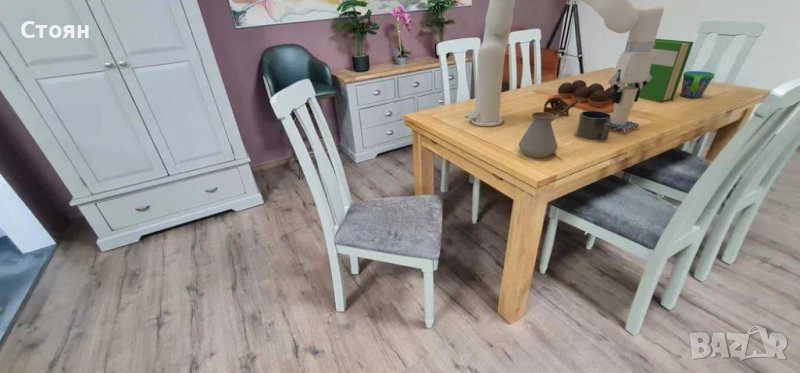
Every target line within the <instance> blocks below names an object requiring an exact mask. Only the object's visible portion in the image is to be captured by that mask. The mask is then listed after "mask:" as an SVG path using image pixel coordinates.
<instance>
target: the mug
mask: <svg viewBox="0 0 800 373" xmlns="http://www.w3.org/2000/svg"><path fill="white" fill-rule="evenodd" d="M610 118H612V115H611V114H610V113H609V112H607V113H605V112H601V111H588V110H584V111H581V112H580V114H579V118H578V122H577V128H576V133H575V134H576V136H577V137H578V138H580V139H584V140H589V141H599V140H603V141H607V140H608V137H609V134H610V131H611V130H610V127H611V125H610V124H609V121H610Z"/></svg>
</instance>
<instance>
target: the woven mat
mask: <svg viewBox="0 0 800 373" xmlns="http://www.w3.org/2000/svg"><path fill="white" fill-rule="evenodd" d="M611 118H612V117H610V121H609V124H610V125H611V127H610V131H613V132H617V133H621V134H624V133H627V132H629V131H631V130H636V129H637V128H639V127H640V126H639V123H637V122H633V121H629V119H628V120H627V124H625V125H617V124H613V123H611Z"/></svg>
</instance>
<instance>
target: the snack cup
mask: <svg viewBox="0 0 800 373" xmlns="http://www.w3.org/2000/svg"><path fill="white" fill-rule="evenodd" d="M682 76H683V79H682V82H681V89H680V95H681V97H684V98H685V97H686V98H691V99H696V98H701V97H703V95H704V93H705V91H706V90H707V88H708V86H709V85H710V83H711V81H712V79H714V78H715V73H714V72H711V71H710V72H709V71H702V70H687V71H683V74H682Z"/></svg>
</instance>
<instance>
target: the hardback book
mask: <svg viewBox="0 0 800 373" xmlns="http://www.w3.org/2000/svg"><path fill="white" fill-rule="evenodd" d="M693 45H694V41H688V40H678V39H677V40H675V39H666V38H665V39H664V38H656V39H655V46H654V47H653V49H652V52H653V56H652V63H651V68H650V72H649V73H650V75H651V76H652V79H651V80H650V81H649V82H647V84H646V85H645V86H644V87H643V89H642V90H640V94H639V97H638V98H640V99H645V100H649V101H652V102H657V103H663V102H664V101H666V100H668V101H674V99H675V96H676V93H677V90H678V87H679V85H680V82H681V79H682V76H683V74H684V72H685V68H686V65H687V61H688V59H689V56H690V53H691V51H692V48H693ZM626 86H631V87H634V83H630V84H626Z"/></svg>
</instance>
